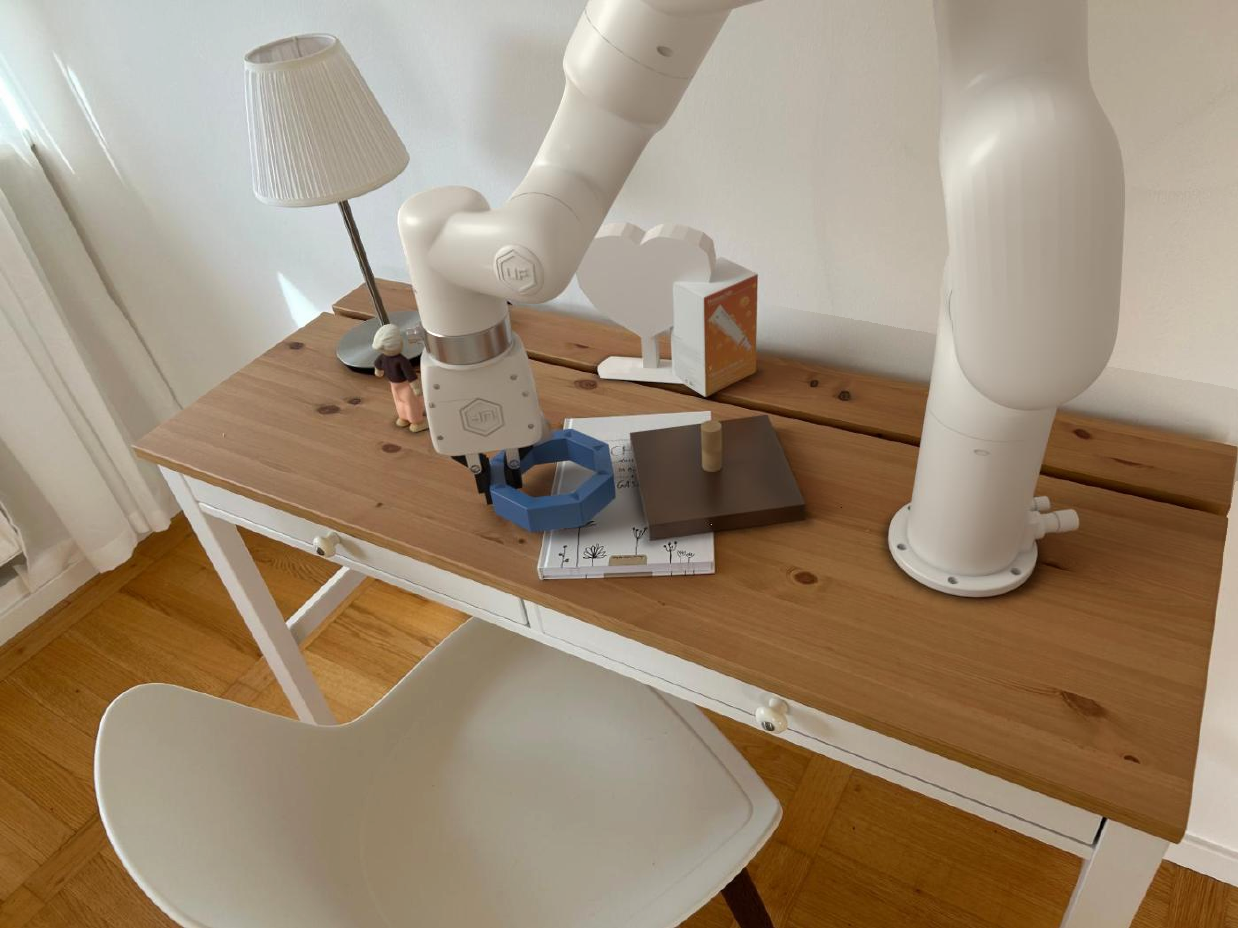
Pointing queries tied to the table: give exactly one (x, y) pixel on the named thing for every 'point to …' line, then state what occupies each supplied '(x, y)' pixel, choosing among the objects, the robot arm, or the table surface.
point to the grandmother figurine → (400, 377)
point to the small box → (715, 328)
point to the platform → (714, 477)
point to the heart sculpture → (642, 287)
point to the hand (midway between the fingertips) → (502, 493)
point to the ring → (559, 507)
